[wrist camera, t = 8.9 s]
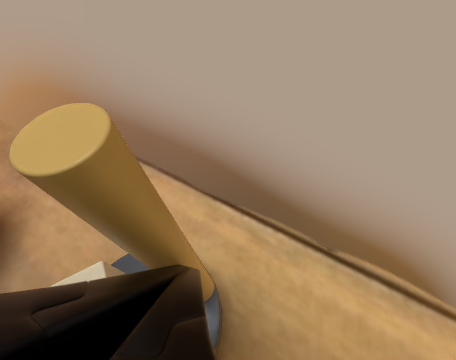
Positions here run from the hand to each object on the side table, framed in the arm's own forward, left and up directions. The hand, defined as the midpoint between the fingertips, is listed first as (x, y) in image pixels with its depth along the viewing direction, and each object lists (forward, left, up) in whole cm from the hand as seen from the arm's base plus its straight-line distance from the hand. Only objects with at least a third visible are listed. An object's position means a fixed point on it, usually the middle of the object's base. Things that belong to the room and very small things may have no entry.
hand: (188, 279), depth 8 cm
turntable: (0, +4, -8) cm, 9 cm away
